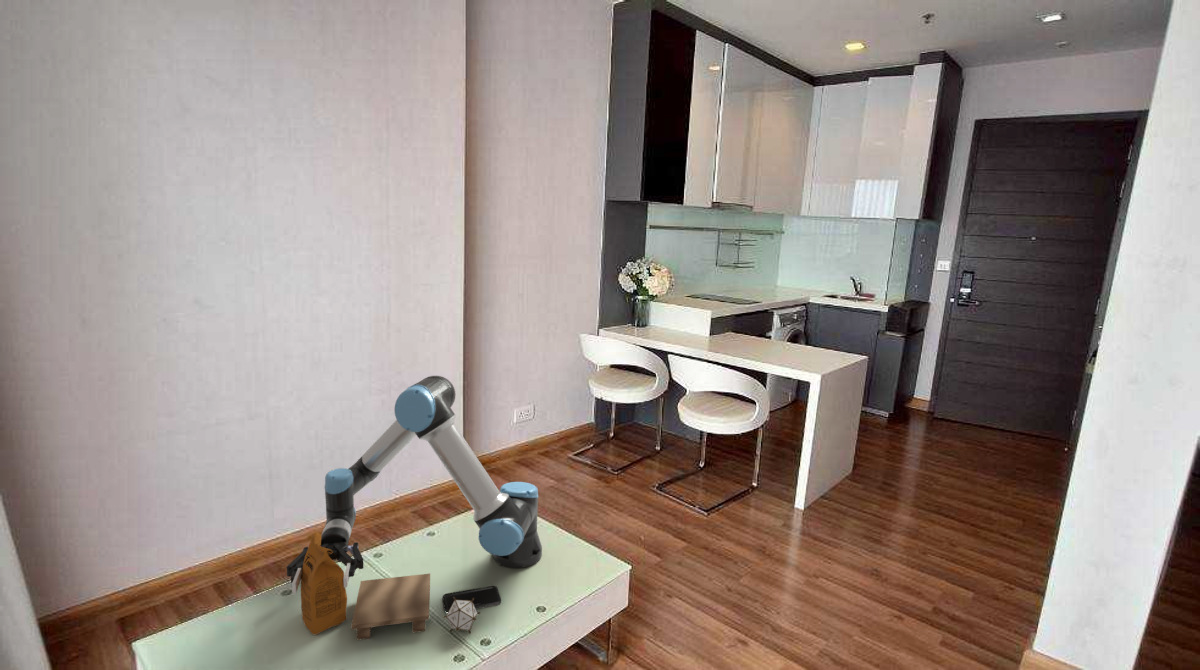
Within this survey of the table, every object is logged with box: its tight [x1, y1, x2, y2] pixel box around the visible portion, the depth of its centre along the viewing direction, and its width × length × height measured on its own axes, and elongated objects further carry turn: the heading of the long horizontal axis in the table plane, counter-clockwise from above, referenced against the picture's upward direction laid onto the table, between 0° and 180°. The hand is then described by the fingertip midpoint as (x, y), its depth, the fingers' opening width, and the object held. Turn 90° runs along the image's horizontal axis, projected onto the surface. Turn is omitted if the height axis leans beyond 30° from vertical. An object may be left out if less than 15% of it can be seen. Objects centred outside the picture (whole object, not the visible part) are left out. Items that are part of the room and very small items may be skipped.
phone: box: [442, 585, 502, 612], centre depth 159 cm, size 8×1×15 cm
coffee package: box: [300, 531, 348, 635], centre depth 147 cm, size 10×12×22 cm
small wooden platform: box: [350, 573, 431, 641], centre depth 152 cm, size 18×18×5 cm
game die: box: [442, 597, 481, 634], centre depth 147 cm, size 9×8×10 cm
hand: (319, 585), depth 144 cm, fingers closed on coffee package, 11 cm apart
